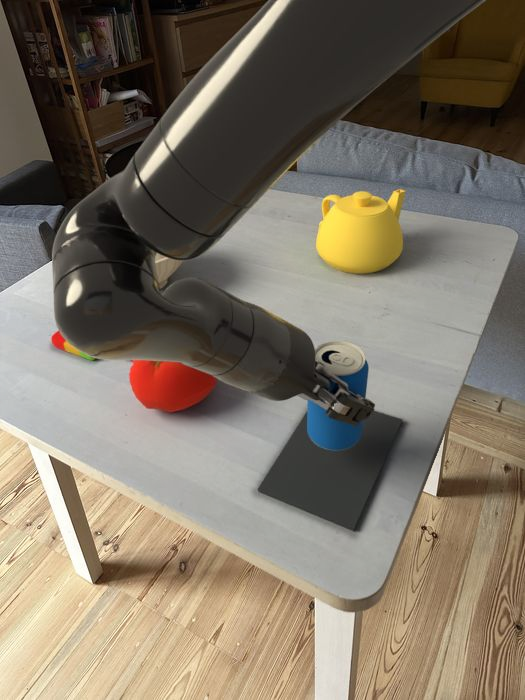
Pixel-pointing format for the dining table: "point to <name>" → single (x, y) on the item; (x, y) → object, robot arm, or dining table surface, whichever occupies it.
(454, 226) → the dining table surface
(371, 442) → the place mat
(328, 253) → the teapot
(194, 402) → the tomato
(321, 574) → the dining table surface
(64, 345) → the popsicle
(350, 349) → the beverage can
